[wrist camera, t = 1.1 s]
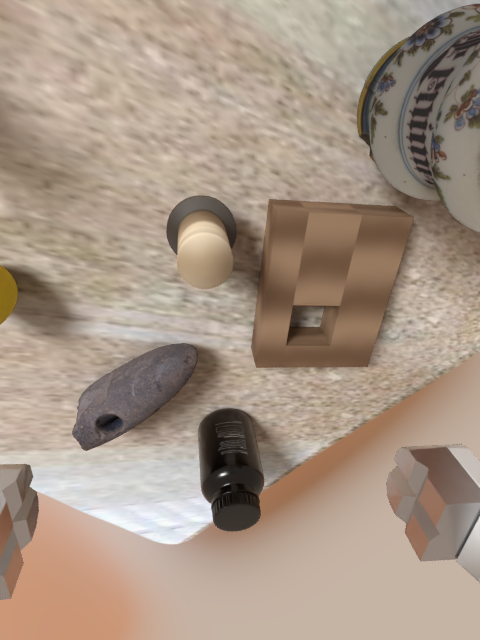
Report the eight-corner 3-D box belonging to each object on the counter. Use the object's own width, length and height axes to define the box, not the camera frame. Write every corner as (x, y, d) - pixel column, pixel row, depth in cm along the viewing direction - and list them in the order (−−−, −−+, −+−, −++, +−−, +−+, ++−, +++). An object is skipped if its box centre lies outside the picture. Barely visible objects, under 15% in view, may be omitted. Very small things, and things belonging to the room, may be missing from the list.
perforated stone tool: (183, 319, 41) (183, 360, 35) (210, 353, 43) (215, 396, 37) (68, 386, 43) (50, 435, 37) (101, 414, 46) (89, 464, 40)
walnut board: (269, 199, 35) (277, 210, 32) (395, 206, 37) (414, 217, 34) (251, 347, 43) (256, 367, 40) (355, 347, 45) (367, 366, 42)
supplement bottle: (186, 433, 49) (187, 527, 39) (219, 398, 47) (230, 487, 36) (230, 452, 52) (242, 544, 42) (264, 420, 49) (285, 509, 39)
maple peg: (167, 184, 33) (162, 220, 25) (233, 187, 34) (250, 224, 26) (168, 247, 36) (163, 299, 28) (229, 249, 37) (243, 300, 29)
